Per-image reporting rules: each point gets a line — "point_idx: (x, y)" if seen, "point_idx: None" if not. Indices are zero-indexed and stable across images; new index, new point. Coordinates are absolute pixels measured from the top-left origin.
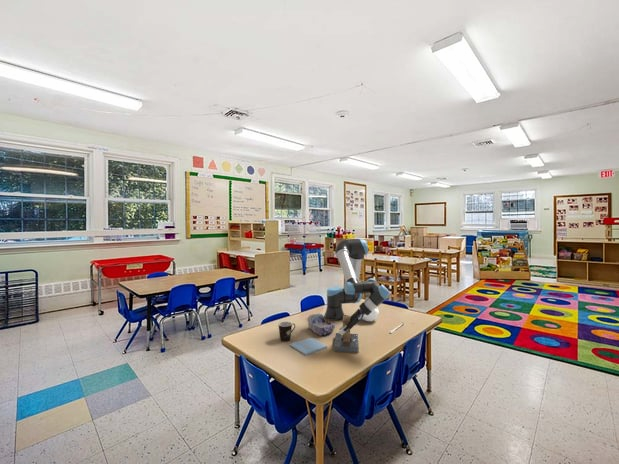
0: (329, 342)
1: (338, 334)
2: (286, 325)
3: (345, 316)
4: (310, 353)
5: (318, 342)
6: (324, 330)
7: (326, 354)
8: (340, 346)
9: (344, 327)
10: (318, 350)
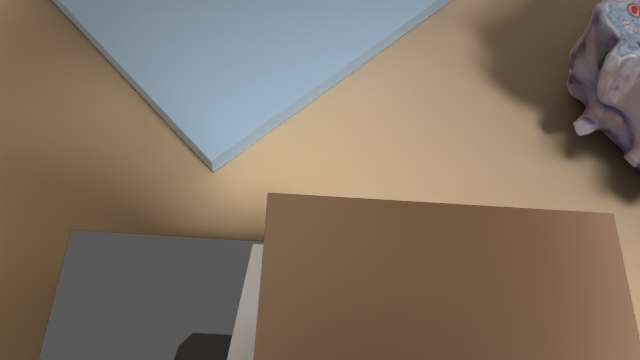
0: (384, 199)
1: None
2: None
3: (589, 329)
4: (56, 4)
5: (317, 62)
6: (597, 86)
7: (13, 163)
8: (51, 330)
9: (229, 354)
10: (124, 75)
